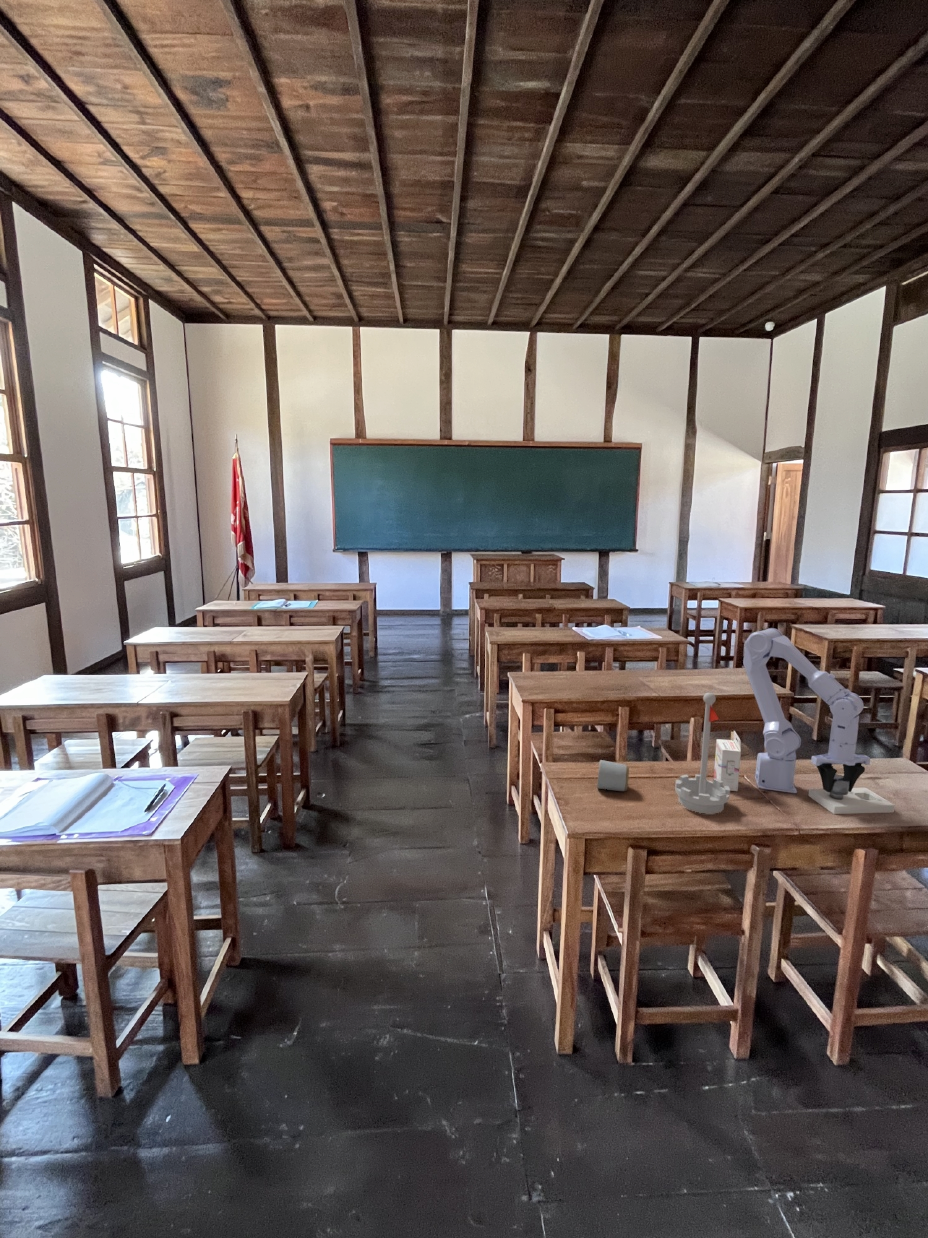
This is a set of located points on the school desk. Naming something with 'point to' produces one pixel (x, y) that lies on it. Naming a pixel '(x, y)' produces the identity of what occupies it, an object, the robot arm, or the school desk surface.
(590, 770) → the school desk surface
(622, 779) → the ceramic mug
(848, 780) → the peg
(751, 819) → the school desk surface
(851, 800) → the board
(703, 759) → the flag stand
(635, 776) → the school desk surface
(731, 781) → the ink cartridge box
